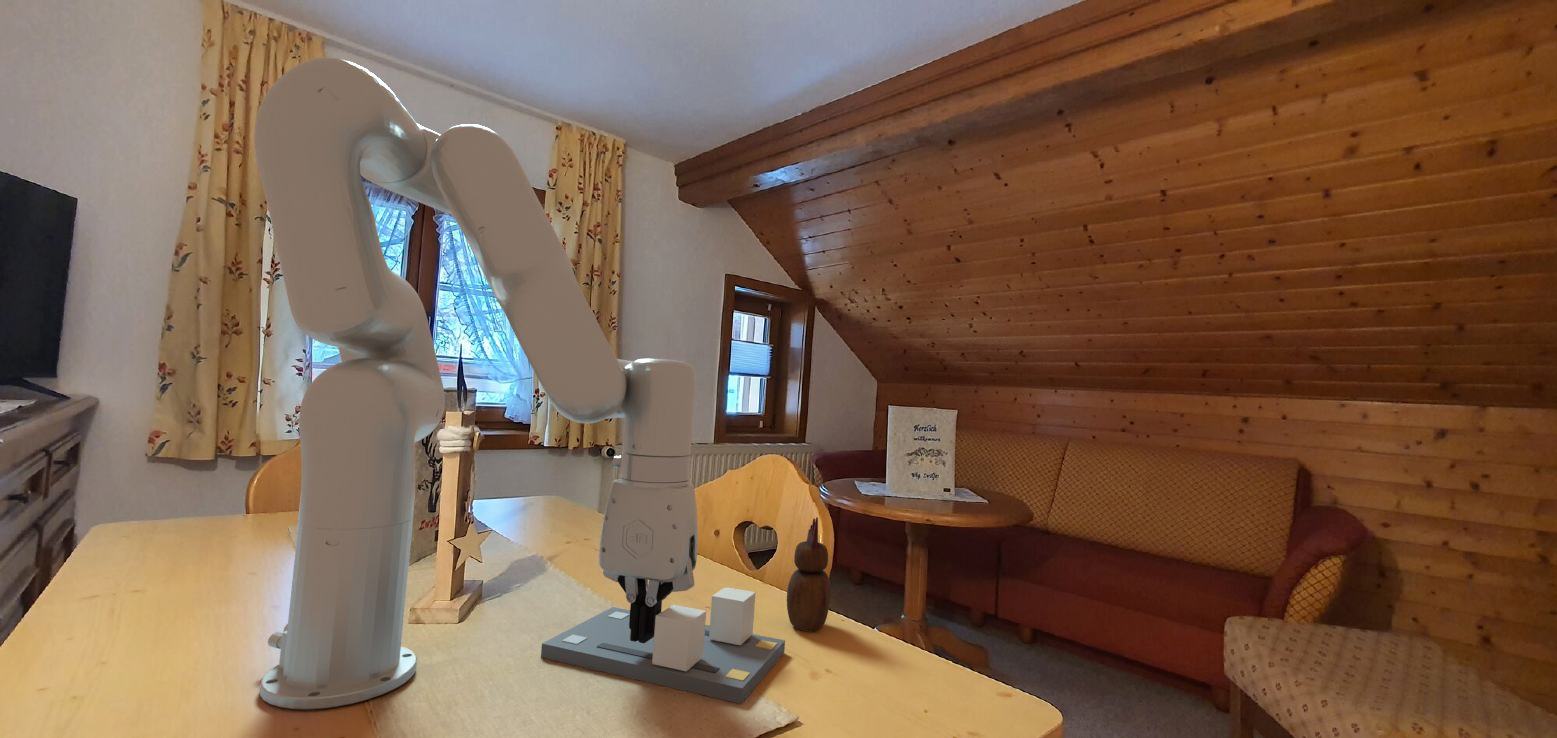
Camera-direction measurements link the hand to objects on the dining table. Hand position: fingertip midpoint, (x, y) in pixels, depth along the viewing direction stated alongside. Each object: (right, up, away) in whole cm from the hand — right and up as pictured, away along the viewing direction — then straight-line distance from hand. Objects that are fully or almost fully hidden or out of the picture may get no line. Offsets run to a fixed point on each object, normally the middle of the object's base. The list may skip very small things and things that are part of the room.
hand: (643, 637), depth 69 cm
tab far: (+9, -3, +6) cm, 11 cm away
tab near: (+4, -2, -2) cm, 5 cm away
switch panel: (+2, -4, +4) cm, 6 cm away
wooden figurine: (+19, -6, +16) cm, 25 cm away
